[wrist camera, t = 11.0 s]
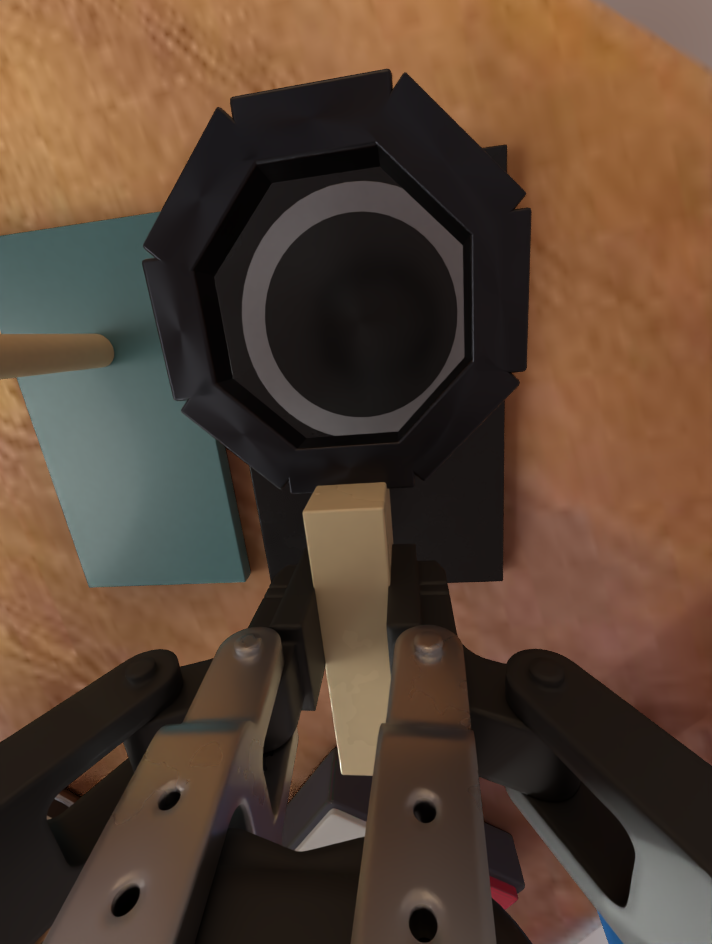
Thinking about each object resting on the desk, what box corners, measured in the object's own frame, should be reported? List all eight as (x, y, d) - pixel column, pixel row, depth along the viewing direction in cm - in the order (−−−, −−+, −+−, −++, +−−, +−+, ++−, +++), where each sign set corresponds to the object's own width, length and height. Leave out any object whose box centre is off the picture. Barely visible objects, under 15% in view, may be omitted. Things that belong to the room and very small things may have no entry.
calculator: (436, 974, 30) (250, 901, 28) (429, 896, 34) (266, 828, 32) (532, 902, 27) (328, 813, 25) (512, 825, 31) (335, 744, 29)
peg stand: (99, 578, 26) (-107, 748, 16) (-12, 244, 20) (-465, 147, 10) (251, 573, 25) (141, 753, 14) (178, 216, 19) (-99, 68, 8)
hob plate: (276, 579, 25) (271, 590, 24) (206, 198, 19) (195, 191, 18) (499, 571, 23) (503, 582, 22) (501, 153, 17) (508, 142, 16)
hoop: (140, 142, 10) (41, 71, 7) (519, 77, 9) (572, -37, 6) (258, 692, 15) (227, 771, 12) (506, 694, 14) (532, 782, 11)
